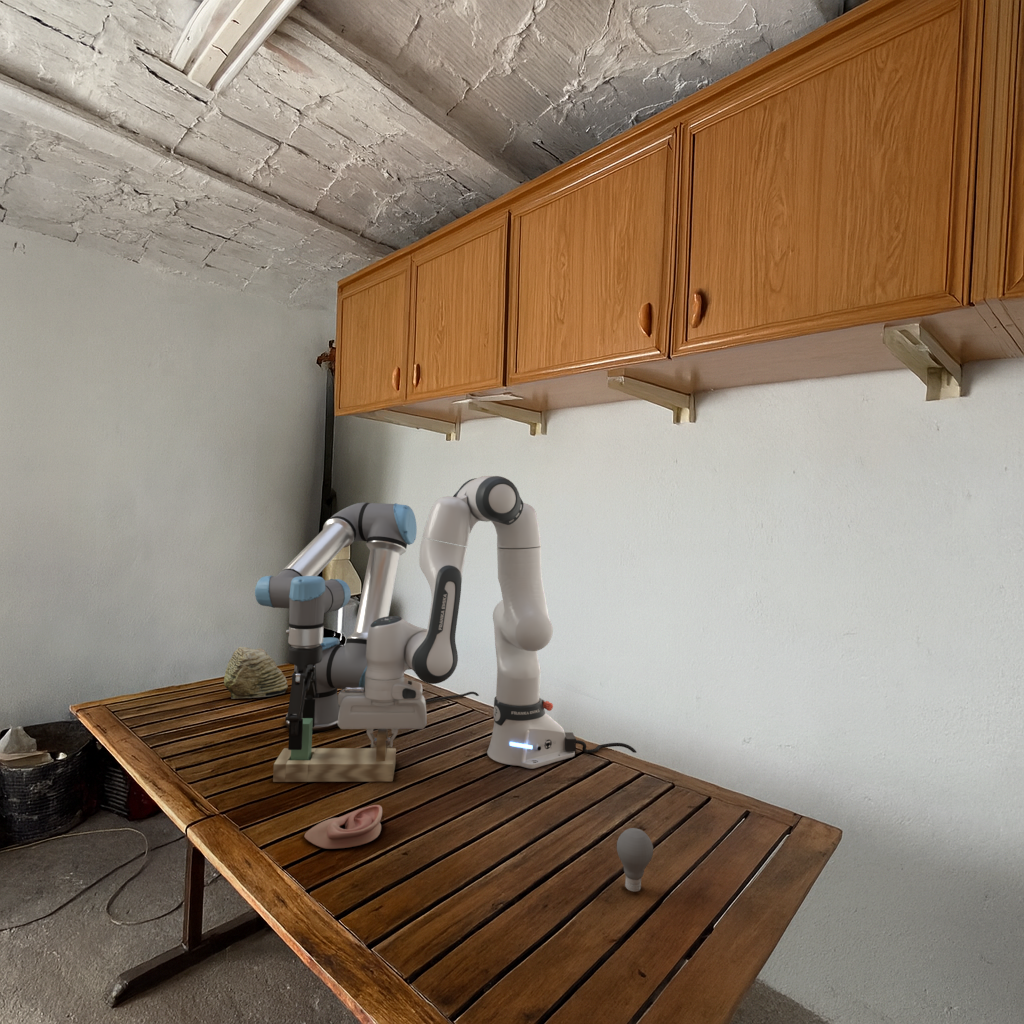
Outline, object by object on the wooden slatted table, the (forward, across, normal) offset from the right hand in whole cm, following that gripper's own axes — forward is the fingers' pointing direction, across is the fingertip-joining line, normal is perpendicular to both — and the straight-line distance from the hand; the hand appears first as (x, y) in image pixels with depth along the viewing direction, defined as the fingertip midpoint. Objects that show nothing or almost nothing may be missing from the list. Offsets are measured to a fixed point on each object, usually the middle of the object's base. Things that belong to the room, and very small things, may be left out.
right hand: (382, 746), depth 146 cm
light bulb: (+6, +46, -46) cm, 65 cm away
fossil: (+6, -44, +57) cm, 72 cm away
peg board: (+6, -10, 0) cm, 12 cm away
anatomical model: (+6, -4, -27) cm, 28 cm away
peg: (+6, -18, 0) cm, 19 cm away
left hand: (-2, -18, 0) cm, 18 cm away
